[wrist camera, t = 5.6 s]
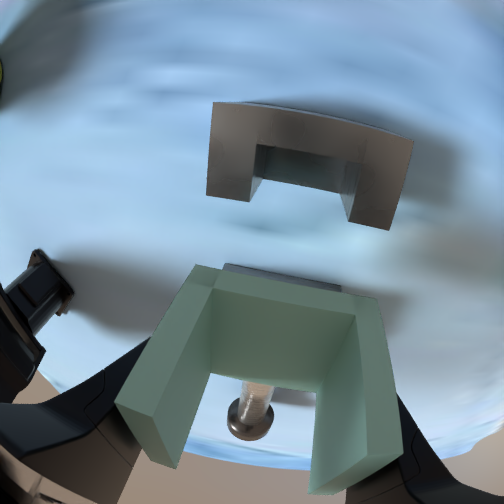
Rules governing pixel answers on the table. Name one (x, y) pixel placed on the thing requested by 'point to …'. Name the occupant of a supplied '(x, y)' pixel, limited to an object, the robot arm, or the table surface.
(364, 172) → the cradle rig
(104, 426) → the robot arm
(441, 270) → the table surface
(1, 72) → the plant pot
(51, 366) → the table surface
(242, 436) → the shaft
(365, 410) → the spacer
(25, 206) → the table surface
